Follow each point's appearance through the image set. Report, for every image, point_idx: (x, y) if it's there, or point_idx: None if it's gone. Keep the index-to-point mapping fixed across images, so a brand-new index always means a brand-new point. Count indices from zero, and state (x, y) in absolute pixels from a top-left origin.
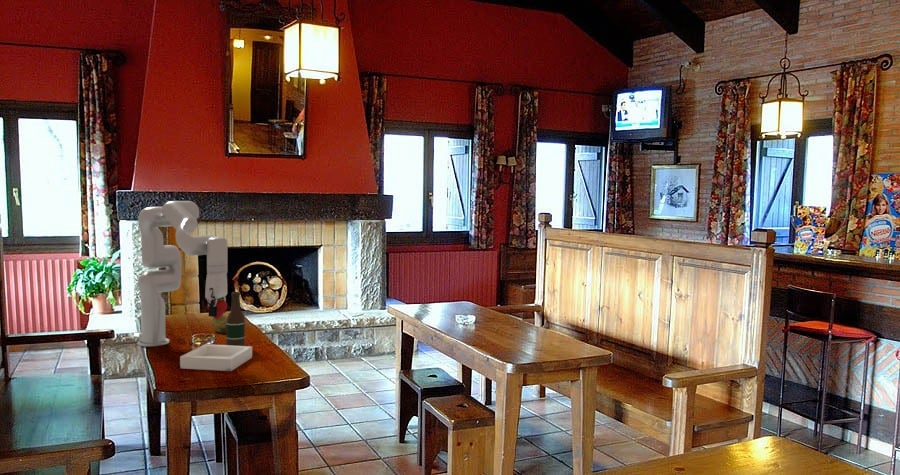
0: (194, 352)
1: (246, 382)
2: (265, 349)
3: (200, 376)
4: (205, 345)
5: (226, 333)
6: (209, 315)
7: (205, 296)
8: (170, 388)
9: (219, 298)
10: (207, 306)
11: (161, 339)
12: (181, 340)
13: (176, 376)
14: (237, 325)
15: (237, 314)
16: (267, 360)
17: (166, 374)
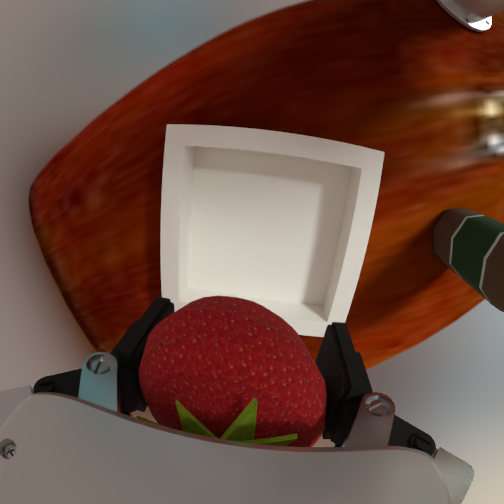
0: (242, 149)
1: (107, 339)
2: (418, 324)
3: (115, 227)
4: (363, 160)
5: (475, 222)
6: (157, 303)
7: (18, 405)
8: (39, 196)
9: (362, 443)
10: (162, 323)
11: (462, 8)
12: (501, 62)
13: (105, 160)
14: (478, 283)
15: None
16: None
17: (120, 121)
